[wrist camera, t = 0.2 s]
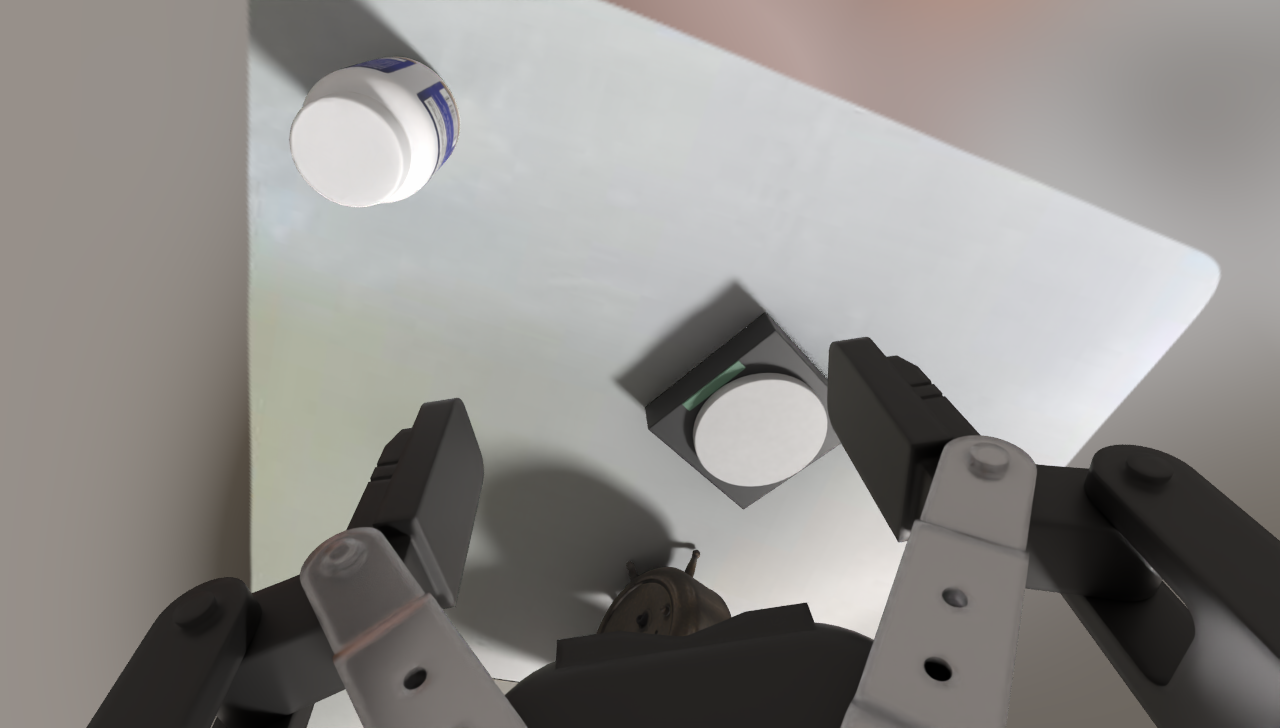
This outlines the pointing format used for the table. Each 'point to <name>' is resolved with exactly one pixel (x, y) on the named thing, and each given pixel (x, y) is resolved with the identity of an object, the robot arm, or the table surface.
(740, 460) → the scale
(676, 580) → the alarm clock
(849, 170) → the table surface
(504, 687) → the grey flat tray
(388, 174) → the pill bottle
